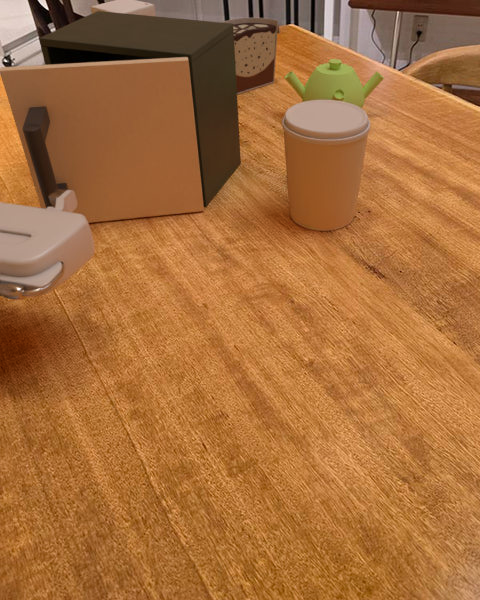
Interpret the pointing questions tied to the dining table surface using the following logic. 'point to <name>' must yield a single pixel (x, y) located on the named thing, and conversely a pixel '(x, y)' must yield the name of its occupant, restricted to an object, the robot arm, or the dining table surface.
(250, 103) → the dining table surface
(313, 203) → the coffee cup
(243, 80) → the food container
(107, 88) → the door
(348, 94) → the teapot
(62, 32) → the cupboard
